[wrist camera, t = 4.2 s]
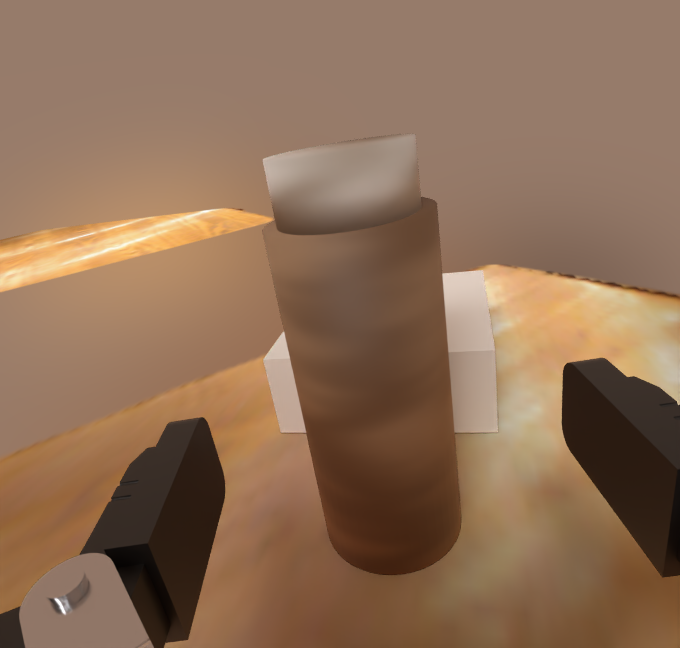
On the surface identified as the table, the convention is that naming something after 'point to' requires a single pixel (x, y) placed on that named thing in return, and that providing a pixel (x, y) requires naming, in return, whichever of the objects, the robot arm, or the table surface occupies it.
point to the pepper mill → (368, 346)
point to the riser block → (464, 361)
